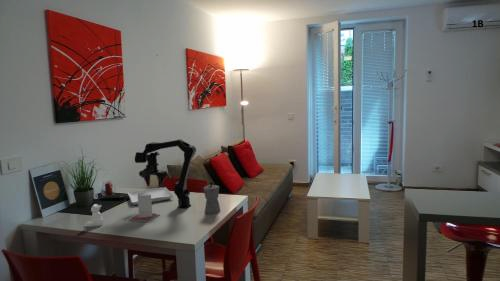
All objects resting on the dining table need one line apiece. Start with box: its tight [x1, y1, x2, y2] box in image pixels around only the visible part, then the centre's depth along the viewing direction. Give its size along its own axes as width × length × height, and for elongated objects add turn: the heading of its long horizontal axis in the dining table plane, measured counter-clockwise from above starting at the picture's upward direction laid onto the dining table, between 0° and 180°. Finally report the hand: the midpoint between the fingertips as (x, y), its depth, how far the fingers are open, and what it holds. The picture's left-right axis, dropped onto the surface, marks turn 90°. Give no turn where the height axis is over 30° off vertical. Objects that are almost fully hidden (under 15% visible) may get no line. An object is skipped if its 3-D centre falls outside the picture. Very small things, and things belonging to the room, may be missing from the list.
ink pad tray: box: [128, 212, 160, 223], centre depth 203 cm, size 12×12×1 cm
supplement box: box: [137, 192, 153, 218], centre depth 202 cm, size 7×7×13 cm
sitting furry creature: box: [84, 203, 105, 228], centre depth 194 cm, size 10×9×12 cm
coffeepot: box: [202, 181, 221, 215], centre depth 208 cm, size 15×9×18 cm, turn 13°
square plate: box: [127, 187, 174, 206], centre depth 243 cm, size 27×27×4 cm
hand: (154, 186), depth 222 cm, fingers open, 9 cm apart
